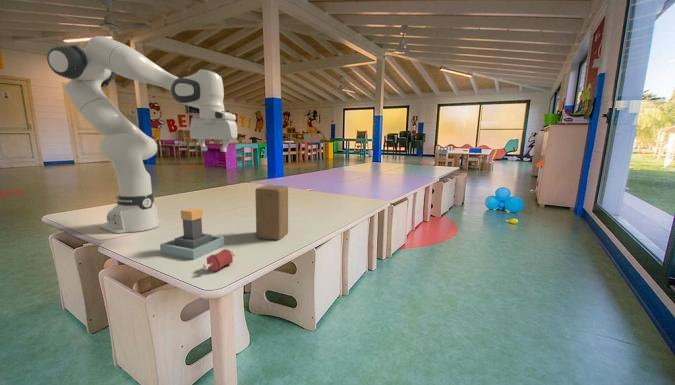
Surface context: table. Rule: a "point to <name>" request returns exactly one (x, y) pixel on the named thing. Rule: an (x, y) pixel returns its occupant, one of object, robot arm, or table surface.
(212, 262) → the meat
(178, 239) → the box
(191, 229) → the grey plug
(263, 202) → the wooden block
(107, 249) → the table surface
